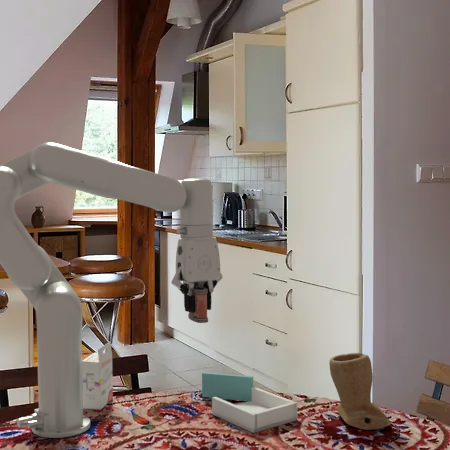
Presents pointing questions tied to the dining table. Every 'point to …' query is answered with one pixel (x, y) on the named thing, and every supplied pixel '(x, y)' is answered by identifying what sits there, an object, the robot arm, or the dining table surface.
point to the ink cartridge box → (97, 378)
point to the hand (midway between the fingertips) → (198, 309)
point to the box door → (227, 386)
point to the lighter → (199, 303)
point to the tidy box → (257, 411)
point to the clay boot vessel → (356, 391)
